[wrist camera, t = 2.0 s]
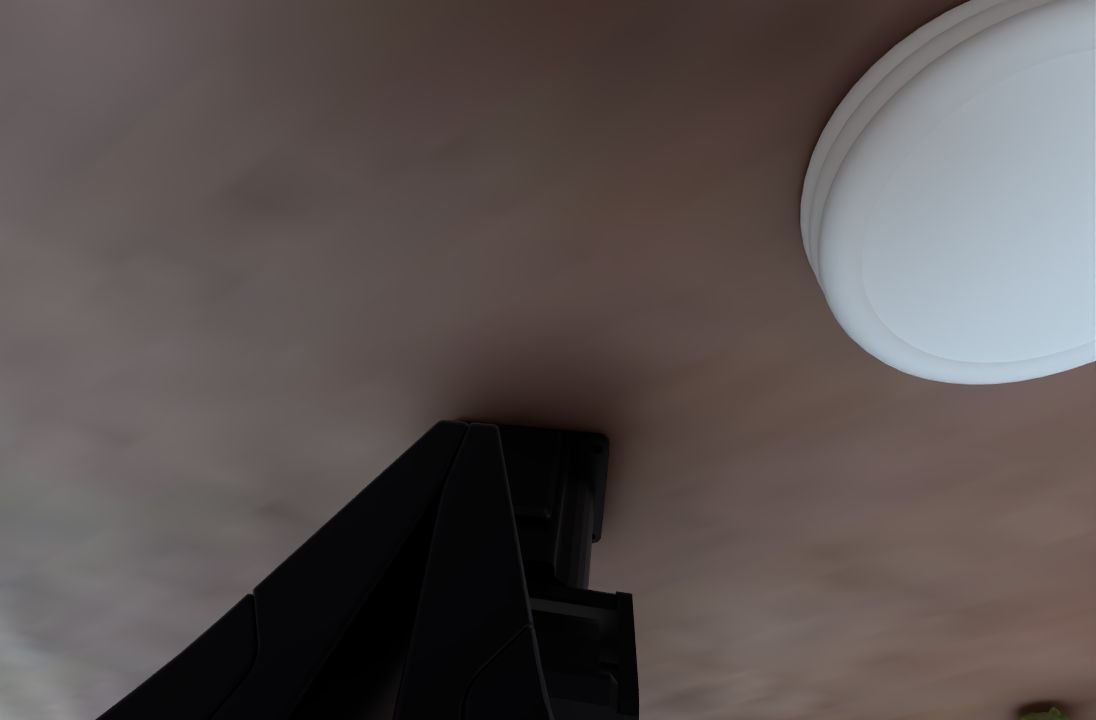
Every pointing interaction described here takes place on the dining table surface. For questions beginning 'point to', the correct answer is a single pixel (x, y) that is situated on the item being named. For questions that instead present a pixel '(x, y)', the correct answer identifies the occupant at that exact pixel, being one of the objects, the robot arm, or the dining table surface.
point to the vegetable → (1045, 715)
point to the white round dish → (965, 196)
